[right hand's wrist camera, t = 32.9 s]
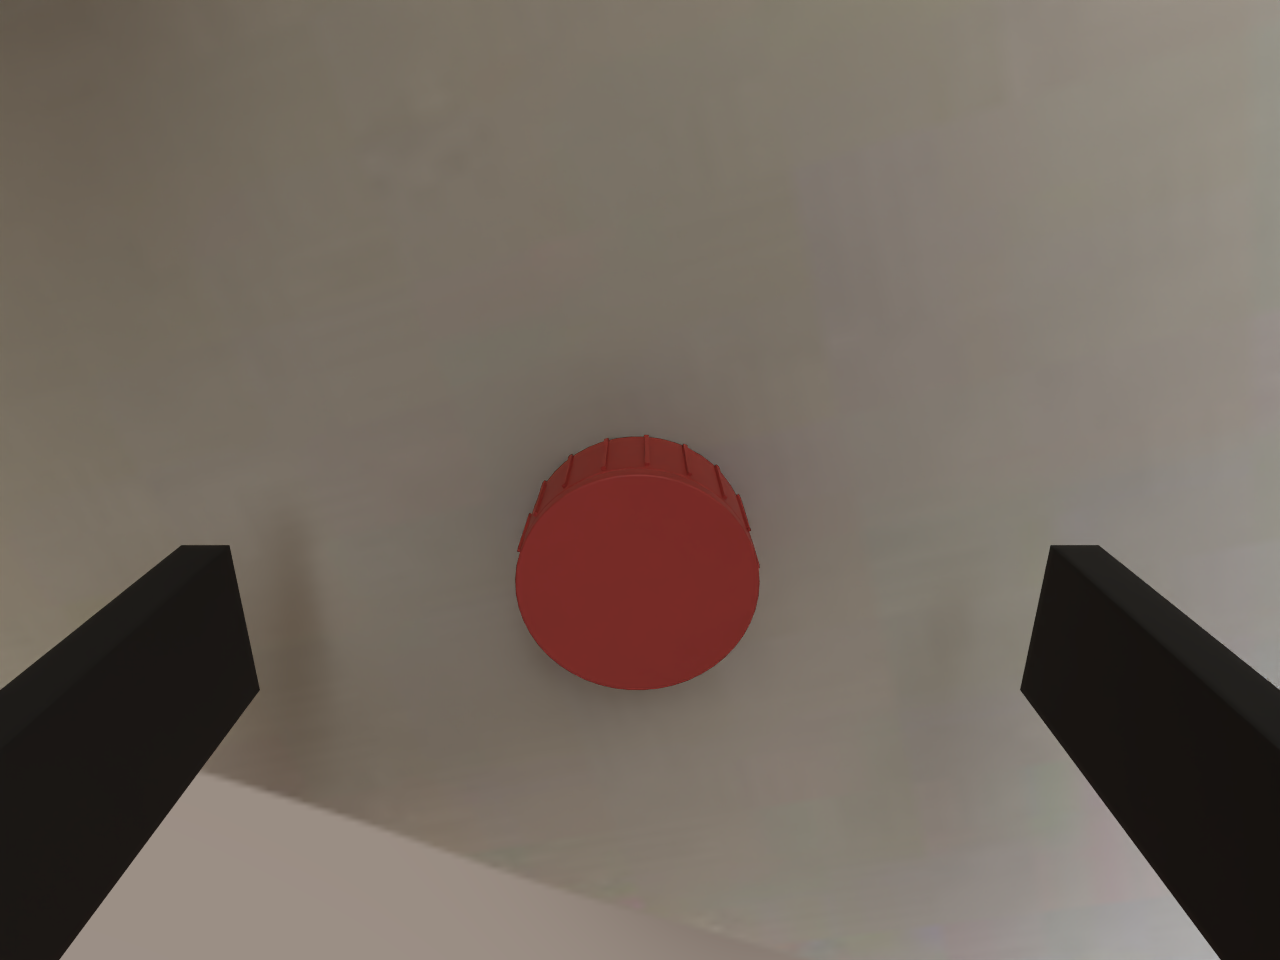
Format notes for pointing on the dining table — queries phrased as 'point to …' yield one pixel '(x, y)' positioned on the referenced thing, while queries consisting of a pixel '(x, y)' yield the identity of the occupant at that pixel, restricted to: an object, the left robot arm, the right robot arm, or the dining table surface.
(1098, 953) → the dining table surface
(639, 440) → the cap
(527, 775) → the dining table surface
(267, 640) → the dining table surface
